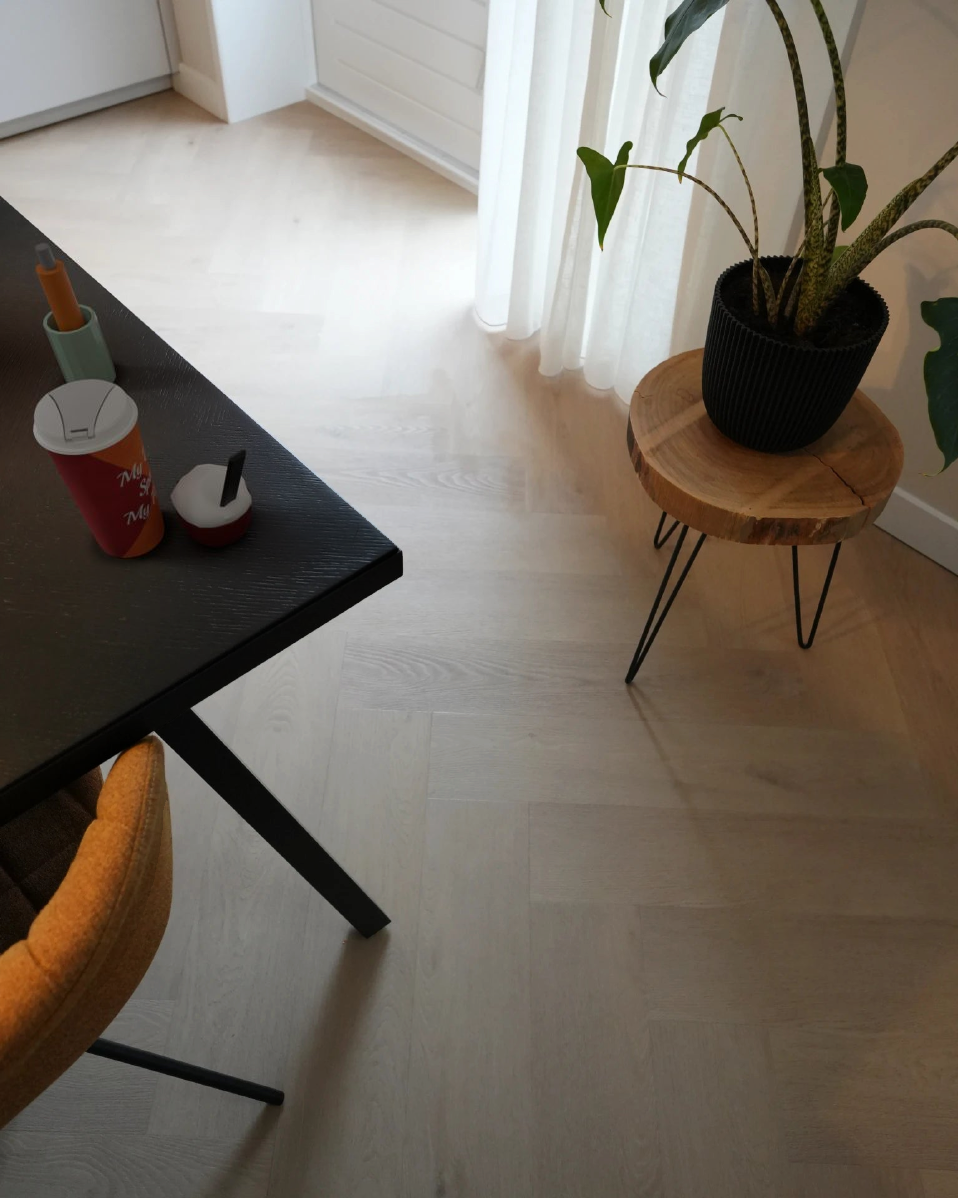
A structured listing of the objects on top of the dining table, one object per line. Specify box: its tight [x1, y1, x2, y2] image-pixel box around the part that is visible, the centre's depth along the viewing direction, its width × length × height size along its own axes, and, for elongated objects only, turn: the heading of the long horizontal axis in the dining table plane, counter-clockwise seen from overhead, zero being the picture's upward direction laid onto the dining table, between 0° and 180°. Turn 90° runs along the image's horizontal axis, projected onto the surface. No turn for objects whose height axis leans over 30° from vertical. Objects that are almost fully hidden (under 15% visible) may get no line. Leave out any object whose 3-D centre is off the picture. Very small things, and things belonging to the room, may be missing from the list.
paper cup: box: [32, 379, 165, 559], centre depth 78 cm, size 8×8×14 cm
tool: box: [34, 242, 86, 332], centre depth 91 cm, size 2×2×14 cm
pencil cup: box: [42, 303, 117, 384], centre depth 94 cm, size 5×5×7 cm
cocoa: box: [169, 448, 253, 548], centre depth 79 cm, size 10×6×12 cm, turn 28°
